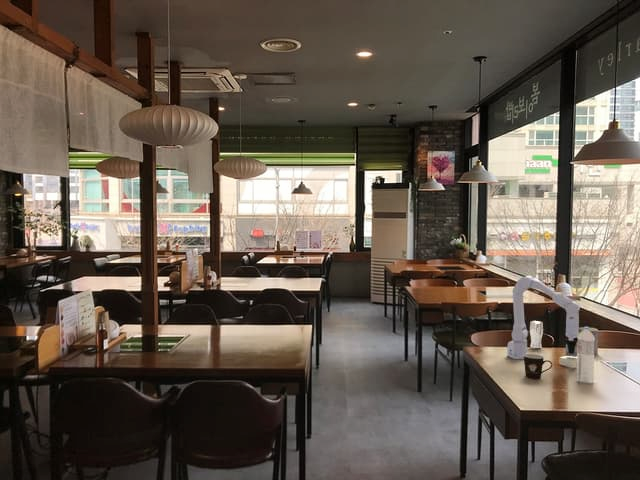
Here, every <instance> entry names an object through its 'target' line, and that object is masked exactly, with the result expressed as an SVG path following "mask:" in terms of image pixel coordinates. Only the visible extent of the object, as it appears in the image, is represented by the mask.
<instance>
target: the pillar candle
mask: <svg viewBox="0 0 640 480" xmlns="http://www.w3.org/2000/svg"><path fill="white" fill-rule="evenodd" d="M584 327H585V326H584ZM584 327H583V326H582V327H581V326H579V333H580V332H582V331H583V330H584ZM587 327H589V329H588V331H590V332H591V333H592V334H593V335H594V337H595V340H594V356H596V354H597V355H598V353H599V352H598V351H599V349H598V348H599V330H598V329H597V328H595V327H590V326H587ZM579 333H578V334H579Z"/></svg>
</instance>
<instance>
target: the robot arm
mask: <svg viewBox="0 0 640 480" xmlns="http://www.w3.org/2000/svg"><path fill="white" fill-rule="evenodd" d="M530 288H531V289H534V290H535V289H536V290H539V291H540V292H543V294H546V295H547V296H549V297H550V298H551V299H552V302H553V303H555V304H557V305H558V306H559V307H561V308H562V309H564V310H565V312H566V317H565V318H566V319H565V325H566V326H565V336H566V338H565V339H564V340H565V342H566V344H567V346H568V351H569V353H570V354H574V350H575V346H576V345H577V344H578V334H579V328H580V325H579V324H580V320H579V319H580V317H579V316H580V314H579V312H580V309H581V306H580V304H579V303H578V301H575V300H574V299H573V298H569V297H568V296H567V295H565V293H564V292H557V291H554V290H553V289H552V288H551V287H549V286H547V285H546V284H545V283H543V282H542V281H541V280H539V279H538V278H535V277H534V276H533V275H526V276H522V277H520V278H519V279H517V281H516V283H515V285H514V287H513V288H512V303H513V307H512V308H513V320H514V321H513V322H514V323H513V327H512V331H511V338H512V339H511V340H510V341H508V342H507V346H506V347H507V348H506V349H507V352H506V355H507V356H506V357H508V356H509V357H508V358H511V359H514V360H524V355H525V354H528V340H527V338H528V336H529V332H528V331H529V330H527V324H526V322H525V310H524V309H525V307H524V293H525V292H526V291H527V290H528V289H530Z"/></svg>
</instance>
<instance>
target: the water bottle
mask: <svg viewBox="0 0 640 480" xmlns="http://www.w3.org/2000/svg"><path fill="white" fill-rule="evenodd" d="M589 328H590V326H589V327H588V326H584V330H583V331H582V332H580V333H578V342H577V345H578V346H577V368H576V382H578V383H580V384H585V385H591V384H594V378H595V377H594V376H595V374H594V373H595V355H594V340H595V337H594V335H593V334H592V333H591V332H590V331H588V329H589Z"/></svg>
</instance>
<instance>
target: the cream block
mask: <svg viewBox="0 0 640 480" xmlns="http://www.w3.org/2000/svg"><path fill="white" fill-rule="evenodd" d="M558 359H559V365H560V366H563V367H568V368H571V369H577V357H572V356H566V355H563V356H559V357H558Z"/></svg>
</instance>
